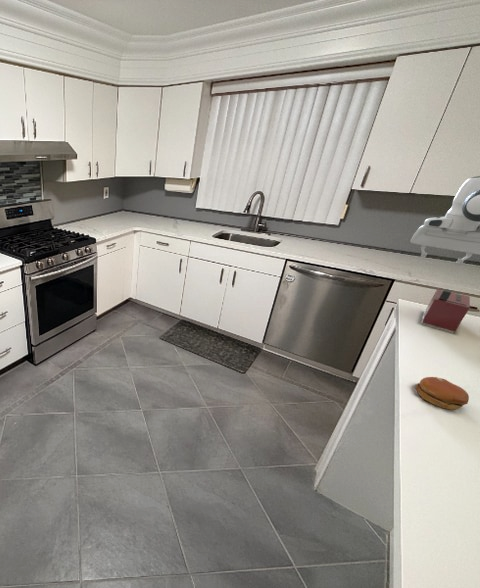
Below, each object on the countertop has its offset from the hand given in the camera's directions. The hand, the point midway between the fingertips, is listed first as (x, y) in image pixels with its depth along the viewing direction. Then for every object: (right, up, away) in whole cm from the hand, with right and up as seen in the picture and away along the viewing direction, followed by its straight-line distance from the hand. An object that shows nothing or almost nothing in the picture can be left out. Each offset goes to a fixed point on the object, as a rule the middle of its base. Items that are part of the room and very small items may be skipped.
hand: (440, 260), depth 116 cm
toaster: (+9, -24, +8) cm, 27 cm away
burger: (-36, -42, -30) cm, 63 cm away
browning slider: (+3, -14, +2) cm, 15 cm away
